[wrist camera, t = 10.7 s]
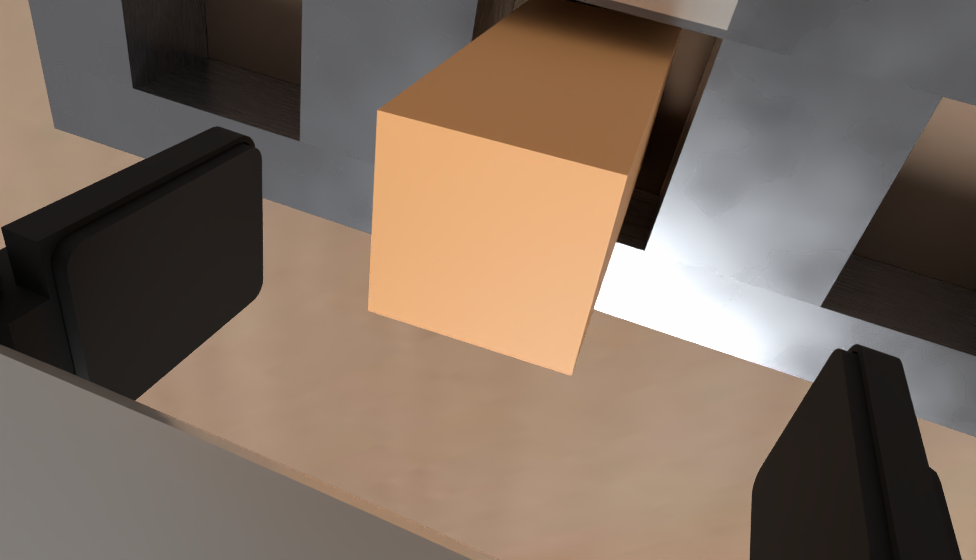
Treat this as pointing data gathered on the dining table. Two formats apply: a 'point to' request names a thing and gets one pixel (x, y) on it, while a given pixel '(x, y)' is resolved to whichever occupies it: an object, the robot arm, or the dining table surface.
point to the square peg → (515, 178)
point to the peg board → (649, 217)
